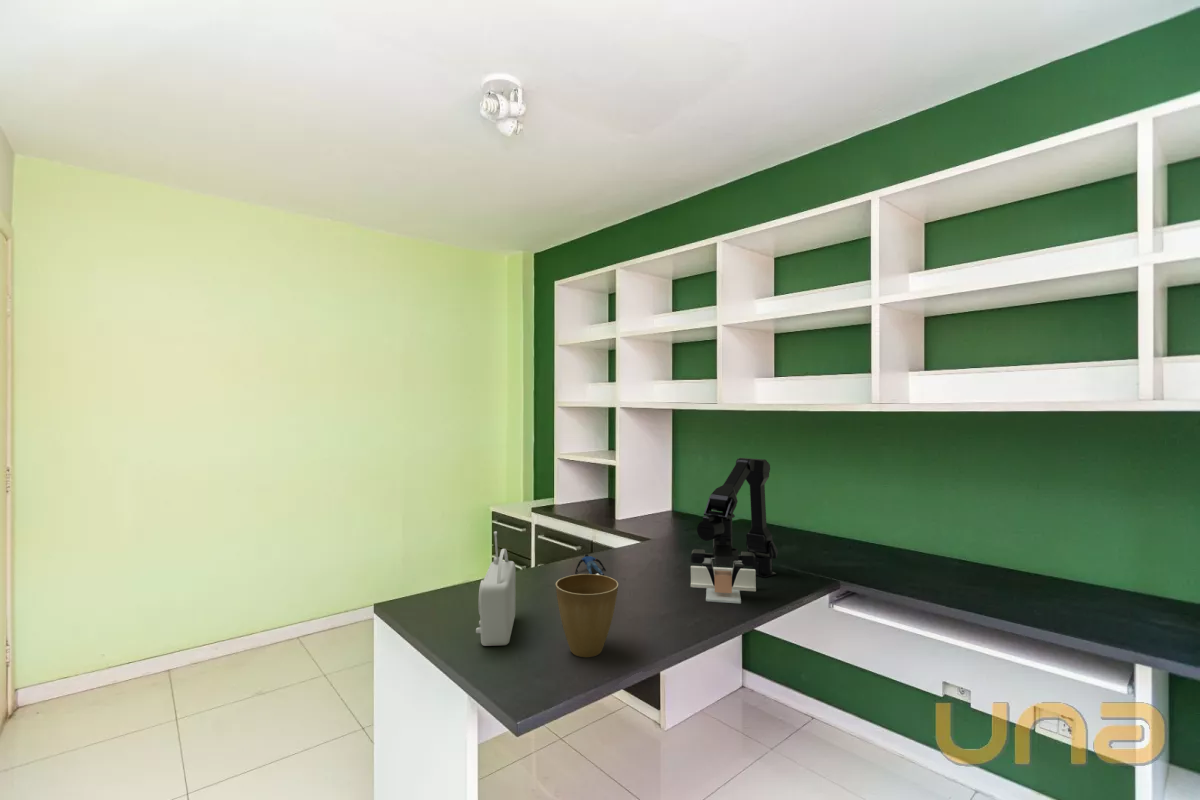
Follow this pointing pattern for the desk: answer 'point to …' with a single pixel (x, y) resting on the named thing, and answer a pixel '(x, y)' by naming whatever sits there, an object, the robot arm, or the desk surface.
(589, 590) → the plant pot
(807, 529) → the desk surface
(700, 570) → the off-white ledge rack
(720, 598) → the pad
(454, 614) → the desk surface
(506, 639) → the radio
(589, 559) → the person figurine
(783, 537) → the desk surface
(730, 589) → the plain cardboard-brown cube
